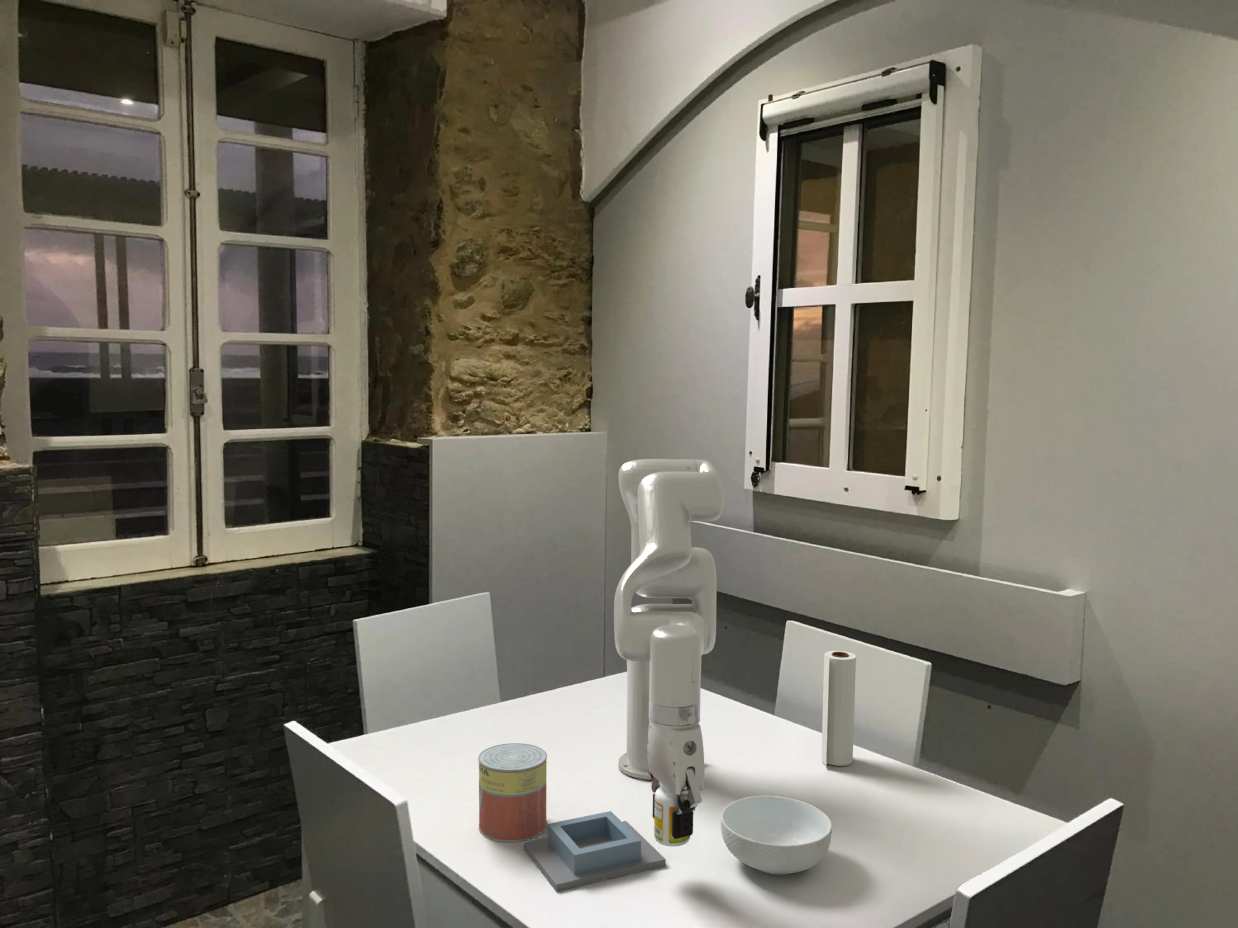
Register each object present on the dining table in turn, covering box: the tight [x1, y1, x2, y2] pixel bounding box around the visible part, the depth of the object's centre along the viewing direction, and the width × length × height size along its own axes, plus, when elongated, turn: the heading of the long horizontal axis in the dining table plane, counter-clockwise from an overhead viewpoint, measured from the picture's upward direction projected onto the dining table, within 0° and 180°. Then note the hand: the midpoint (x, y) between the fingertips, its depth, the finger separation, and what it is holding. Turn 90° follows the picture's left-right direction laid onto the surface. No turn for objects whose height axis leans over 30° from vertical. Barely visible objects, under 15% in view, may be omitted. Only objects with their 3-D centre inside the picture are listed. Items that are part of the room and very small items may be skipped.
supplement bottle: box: [653, 782, 691, 848], centre depth 144 cm, size 5×5×10 cm
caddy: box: [522, 810, 667, 892], centre depth 150 cm, size 18×14×4 cm
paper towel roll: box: [821, 650, 857, 769], centre depth 188 cm, size 7×6×21 cm
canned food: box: [477, 742, 548, 843], centre depth 160 cm, size 11×11×12 cm
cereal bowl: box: [720, 795, 833, 875], centre depth 149 cm, size 17×17×7 cm
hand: (672, 825), depth 144 cm, fingers closed on supplement bottle, 5 cm apart
